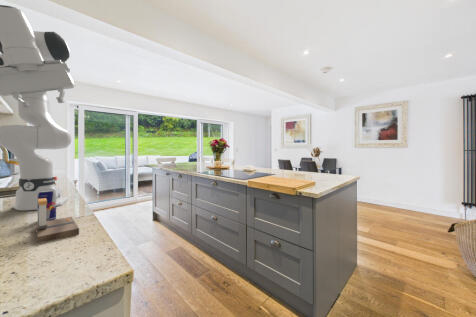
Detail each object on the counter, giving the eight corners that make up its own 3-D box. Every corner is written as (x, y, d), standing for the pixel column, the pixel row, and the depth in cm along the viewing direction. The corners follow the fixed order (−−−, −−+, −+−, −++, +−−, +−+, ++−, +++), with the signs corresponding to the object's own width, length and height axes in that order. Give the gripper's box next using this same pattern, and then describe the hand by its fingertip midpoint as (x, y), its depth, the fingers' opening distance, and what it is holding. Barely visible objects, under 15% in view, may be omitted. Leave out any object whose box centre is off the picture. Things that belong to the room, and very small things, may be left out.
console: (37, 243, 61) (37, 236, 61) (35, 228, 72) (35, 222, 72) (78, 234, 68) (78, 227, 68) (71, 221, 79) (71, 216, 79)
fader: (38, 229, 65) (38, 201, 64) (38, 225, 68) (37, 198, 68) (47, 227, 66) (47, 200, 66) (46, 224, 70) (46, 198, 69)
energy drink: (44, 223, 77) (44, 192, 76) (33, 222, 78) (33, 191, 77) (59, 218, 82) (59, 189, 81) (49, 217, 83) (49, 189, 82)
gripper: (68, 62, 71) (83, 101, 74) (-9, 68, 64) (11, 111, 66) (62, 56, 66) (78, 98, 69) (-24, 61, 58) (-2, 109, 61)
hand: (44, 105), depth 68 cm, fingers open, 8 cm apart
